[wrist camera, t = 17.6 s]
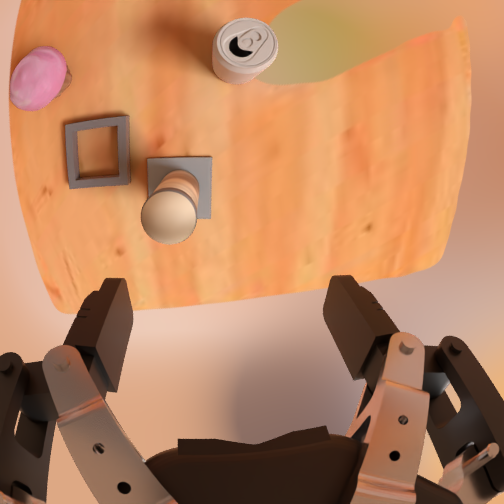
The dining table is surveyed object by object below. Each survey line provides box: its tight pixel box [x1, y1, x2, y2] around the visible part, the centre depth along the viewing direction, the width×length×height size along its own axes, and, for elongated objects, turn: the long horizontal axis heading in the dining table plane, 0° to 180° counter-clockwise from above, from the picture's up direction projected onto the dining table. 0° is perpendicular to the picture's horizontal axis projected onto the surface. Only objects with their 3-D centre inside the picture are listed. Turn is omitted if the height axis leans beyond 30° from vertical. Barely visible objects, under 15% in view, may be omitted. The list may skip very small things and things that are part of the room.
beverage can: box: [212, 18, 278, 84], centre depth 25 cm, size 6×6×12 cm
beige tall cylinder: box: [141, 170, 200, 244], centre depth 32 cm, size 6×6×12 cm
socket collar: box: [65, 116, 131, 189], centre depth 33 cm, size 10×10×2 cm
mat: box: [147, 157, 212, 219], centre depth 38 cm, size 9×9×1 cm
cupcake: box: [10, 46, 72, 111], centre depth 22 cm, size 9×9×10 cm
